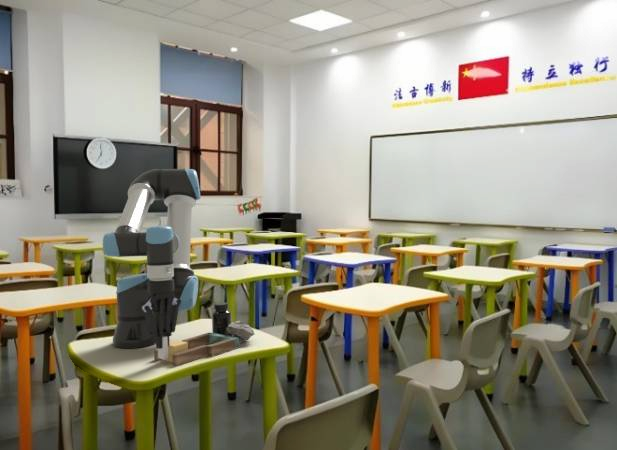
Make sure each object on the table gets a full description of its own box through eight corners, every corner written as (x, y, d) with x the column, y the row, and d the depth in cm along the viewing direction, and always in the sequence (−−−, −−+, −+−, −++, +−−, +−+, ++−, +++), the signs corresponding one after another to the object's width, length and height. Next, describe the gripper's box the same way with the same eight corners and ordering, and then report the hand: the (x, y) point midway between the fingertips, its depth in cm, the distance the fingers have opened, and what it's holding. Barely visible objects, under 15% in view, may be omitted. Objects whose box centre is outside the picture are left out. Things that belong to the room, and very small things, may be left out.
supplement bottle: (219, 334, 182) (218, 301, 182) (235, 335, 180) (234, 302, 179) (208, 338, 176) (207, 304, 176) (225, 340, 173) (224, 305, 173)
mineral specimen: (240, 354, 174) (230, 354, 165) (226, 337, 177) (214, 336, 167) (260, 334, 174) (251, 332, 165) (245, 317, 177) (235, 315, 168)
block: (164, 360, 152) (163, 344, 152) (177, 356, 156) (177, 340, 156) (175, 363, 149) (174, 346, 149) (188, 358, 153) (187, 342, 153)
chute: (150, 358, 154) (150, 349, 153) (209, 341, 173) (209, 332, 173) (181, 366, 145) (180, 356, 145) (239, 347, 165) (239, 338, 165)
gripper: (149, 282, 140) (152, 366, 141) (186, 276, 151) (188, 354, 152) (133, 280, 145) (136, 361, 146) (170, 275, 155) (172, 350, 156)
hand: (163, 358), depth 149 cm, fingers closed
